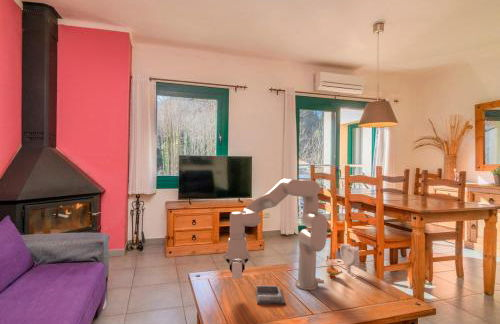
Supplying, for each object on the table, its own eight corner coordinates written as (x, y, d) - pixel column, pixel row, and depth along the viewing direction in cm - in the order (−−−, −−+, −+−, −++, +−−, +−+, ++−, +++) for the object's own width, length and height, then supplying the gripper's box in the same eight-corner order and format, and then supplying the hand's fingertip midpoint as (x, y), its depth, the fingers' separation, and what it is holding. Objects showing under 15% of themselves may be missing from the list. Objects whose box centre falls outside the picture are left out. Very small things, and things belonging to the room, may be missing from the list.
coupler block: (242, 272, 152) (242, 257, 152) (242, 278, 145) (242, 262, 145) (232, 272, 152) (232, 257, 152) (232, 278, 145) (232, 262, 145)
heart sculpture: (338, 269, 189) (339, 242, 189) (345, 269, 190) (346, 241, 190) (352, 279, 174) (353, 249, 174) (359, 278, 175) (360, 249, 175)
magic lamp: (336, 285, 166) (337, 265, 165) (321, 272, 183) (321, 255, 183) (347, 284, 167) (348, 265, 167) (330, 271, 185) (331, 254, 185)
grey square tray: (281, 291, 155) (282, 285, 155) (285, 304, 141) (286, 297, 141) (255, 291, 155) (256, 284, 155) (257, 304, 141) (257, 297, 141)
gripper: (253, 234, 152) (253, 268, 153) (221, 234, 152) (221, 268, 152) (254, 238, 145) (254, 274, 145) (219, 238, 144) (219, 274, 145)
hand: (237, 271), depth 149 cm, fingers closed on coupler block, 5 cm apart
